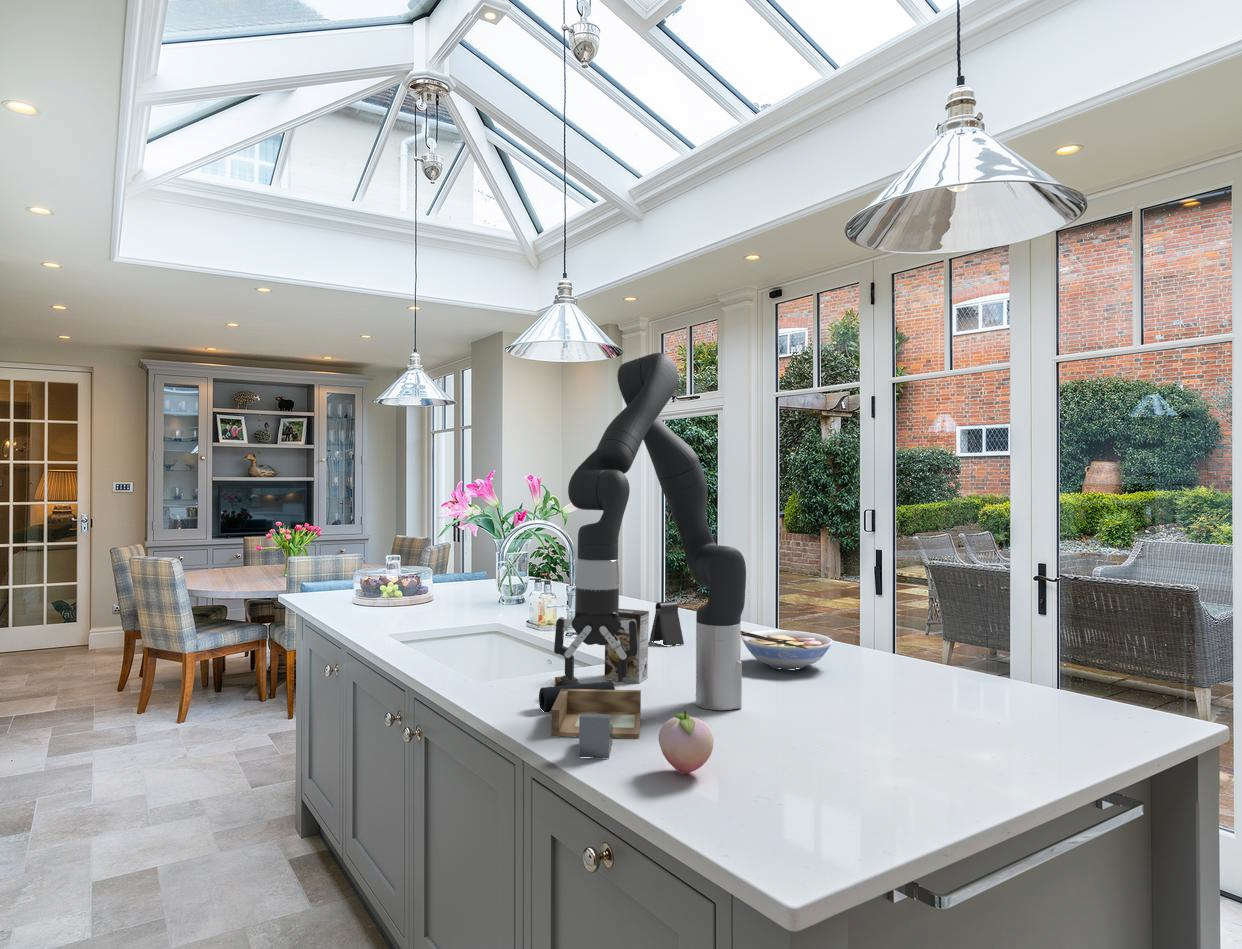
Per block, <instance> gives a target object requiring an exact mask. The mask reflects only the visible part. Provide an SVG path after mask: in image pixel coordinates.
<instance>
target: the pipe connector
mask: <svg viewBox="0 0 1242 949" xmlns="http://www.w3.org/2000/svg"><path fill="white" fill-rule="evenodd" d="M561 689H598V690H616V688H615V685H614V683H613V682H612V680H607V681H598V682H597V681H596V682H590V683H588V682H587V683H581V682H579V681H578V678H576V677H575V676H574V678H573V680H568V676H566V675H565V674H564V675H561V676H555V677H554V686H545V687H541V688H540V689H539V691H538V692H539V693H538V704H539V708H541V709H542V710H543V711H544V712H547V713H551V712H550V711H551V709H552V707H553V705H554V703H555V701H556V699H557V697H558V694H559V692H560V690H561ZM541 709H540V710H541ZM542 710H541V711H542ZM543 711H542V712H543ZM544 712H543V713H544Z"/></svg>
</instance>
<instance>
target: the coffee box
mask: <svg viewBox="0 0 1242 949" xmlns="http://www.w3.org/2000/svg"><path fill="white" fill-rule="evenodd" d="M649 617H650V611H649V610H640V609H626V608H619V619H620V620H621V621H627V620H631V619H635V620H636V623H637V646H638V651H637V655H636V656H631V657H629V658H628V659H627V675H626V677H625V678H623V680H622V681H621V682H624V681H628V682H627V683H632V682H637V683H636V684H640V683H642V682H643V681H645V680H646V678H647V677H648V678H649V628H650V627H649V620H650V618H649ZM615 635H616V636H617V638H618V639H619V641H620V642H621V644H622V645H623V647H624V648H625V649H628V648H630V638H629V633H626V632H625V629H624V628H623V627H620V629H619V630H618V632H617V633H616V634H615ZM618 660H619V656H618V654H617V653H616V652H615V650H614V649H613V648H612V647H611V645H610V644H609V643H608V644H605V645H604V674H603V676H604V678H603V679H604V680H606V679H611V680H610V681H615V680H618ZM648 678H647V679H648ZM644 679H645V680H644ZM641 681H642V682H641Z"/></svg>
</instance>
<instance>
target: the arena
mask: <svg viewBox="0 0 1242 949" xmlns="http://www.w3.org/2000/svg"><path fill="white" fill-rule="evenodd" d="M641 692H642V690H641V689H640V690H639V689H637V690H636V689H615V690H598V689H561V690H560V692H559V694H558V697H557V699H556V701H555V703H554V705H553V707H552V709H551V712H550V737H551V736H576V737H575V738H579V717H580V714H581V713H582V714H610V724H613V737H615V738H614V739H640V728H641V715H642V713H641V711H642V710H641V709H642V704H641V702H642V700H641V699H642V698H641V697H642V696H641V695H642V694H641Z"/></svg>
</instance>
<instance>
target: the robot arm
mask: <svg viewBox="0 0 1242 949" xmlns="http://www.w3.org/2000/svg"><path fill="white" fill-rule="evenodd" d="M616 376H617V383H618V387H619V388H618V389H619V391H620V394H621V396H622V399H623V401H624V403H625V405H626V407H624V409H623V410H622V411H620V412H619V413H618V414H617V415H616V416H615V417H614V418H613V420H612V421H611V422H610V423H609V424H608V426H607V427H606V429H605V430H604V433H603V435H602V436H601V439H600V441H599V442H598V445H597V447H596V449H595V450H594V451H593V452H592V453H590V454H589V455H588V456H587V457H586V458H585V460H584V461H582V463H580V465H578V466H577V468H576V469H575V471H574V472H573V474H572V475H571V478H570V479H569V482H568V488H567V494H568V499H569V501H570V503H571V505H573V507H575V508H577V509H579V510H585V511H603V512H602V515H601V517H600V519H599V520H598V521H597V522H594V523H593V522H592V523H587V524H584V525H582V526H581V527H579V529H578V533H577V557H576V558H577V560H576V561H577V562H576V569H575V579H574V585H575V586H574V587H575V591H574V592H575V594H574V595H575V597H574V599H575V600H574V602H575V603H574V617H573V618H565V617H563V616H560V617H559V618H557V620H556V623H555V633H554V646H553V647H554V649H553V652H554V654H557V655H560V656H562V657H563V658H564V675H566V676H568V680H573V678H574V677H575V656H574V653H575V652H576V651H577V650H578V648H579V647H580V645H582V643H584V644H586V645H587V646H593V645H598V646H605V644H608V643H609V644H610V645H611V647H612V648H613V649H614V650H615V652H616V653H617V654H618V656H619V660H618V681H617V682H623V681H622V680H623V678H625V677H626V675H627V659H628V658H629V657H631V656H636V655H637V651H638V646H637V623H636V620H635V619H631V620H627V621H621V620H620V619H619V609H620V606H619V605H620V604H619V603H620V597H619V596H620V567H619V566H620V565H619V536H620V530H621V527H622V523H623V522H622V521H623V519H624V514H625V511H626V508H627V505H628V501H629V498H630V492H631V491H630V488H631V487H630V483H629V479H628V478H627V476H626V473H628V472H629V470H630V469H631V467H632V465H633V463H634V462H635V458H636V456H637V454H638V452H639V450H640V447H641V445H642V443H643V442H644V445H645V447H646V450H647V453H648V455H649V458H650V460H651V463H652V466H653V468H654V471H655V474H656V477H657V479H658V483H659V485H660V488H661V489H662V493H663V495H664V497H665V499H666V501H667V504H668V507H669V511H670V513H671V516H672V518H673V521H674V524H675V526H676V529H677V531H678V534H679V538H680V542H681V546H682V550H683V552H684V557H685V560H686V564H687V567H688V570H689V574H690V575H691V577H692V579H693V580H694V581H695V583H696V584H697V585H698V586H701V587H703V588H706V589H708V598H707V602H706V603H705V604H704V605H701V606H699V607H698V608H697V609H696V614H695V615H696V616H695V617H696V619H695V621H696V624H695V625H696V628H695V630H696V631H695V632H696V633H695V644H696V646H695V649H696V650H695V704H696V706H698V707H700V708H702V709H705V710H712V711H728V710H729V711H730V710H736V709H742V708H743V706H742V696H743V694H742V692H743V689H742V688H743V685H742V683H743V682H742V681H743V679H742V678H743V670H742V669H743V662H742V660H741V640H742V638H741V636H742V635H741V631H742V630H741V626H742V625H741V621H742V620H741V618H742V613H743V611H744V609H745V601H746V586H747V568H746V567H747V566H746V561H745V558H744V556H743V554H742V552H741V551H740V550H738V549H737V548H735V547H733V546H727V545H718V544H717V543H716V541H715V538H714V537H713V534H712V532H711V530H710V527H709V523H708V519H707V504H708V492H709V490H708V487H709V486H708V483H707V482H708V481H707V479H706V478H707V477H706V474H705V473H704V470H703V468H702V465H701V462H700V459H699V457H698V455H697V453H696V452H695V451H694V449H693V448H692V447H691V446H690V445H689V444H688V443H686V441H684V439H682V438H681V437H680V436H679V435H678V434H676V433H675V432H674V431H673V430H672V429H671V428H669V426H667V425H666V424H665V422H664V421H663V420H662V418H661V416H660V413H661V412H662V411H663V409H664V408H665V407H666V405H667V404H668V403H669V401H670V399H671V398H672V397H673V396H674V394H675V393H676V391H677V388H678V385H679V372H678V368H677V365H676V363H675V361H674V360H673V359H672V358H671V356H670V355H669V354H666V353H664V352H654V353H651V354H650V353H649V354H648V355H644V356H641V357H638V358H635V359H632V360H629V361H626V362H624V363H622V364H621V365H620V366H619V368H618V370H617V375H616ZM570 626H571V627H572V629H574V631H575V633H576V634H577V636H576V637H575V639H574V640H573V641H572V642H571V644H570V645H569V646H568V647H566V646H564V639H565V632H567V631H568V630H569V628H570ZM620 627H623V628H624V629H625V632H626V633H629V638H630V648H628V649H625V648H624V647H623V645H622V644H621V642H620V641H619V639H618V638H617V636H616V635H615V634H616V633H617V632H618V630H619V629H620Z"/></svg>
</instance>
